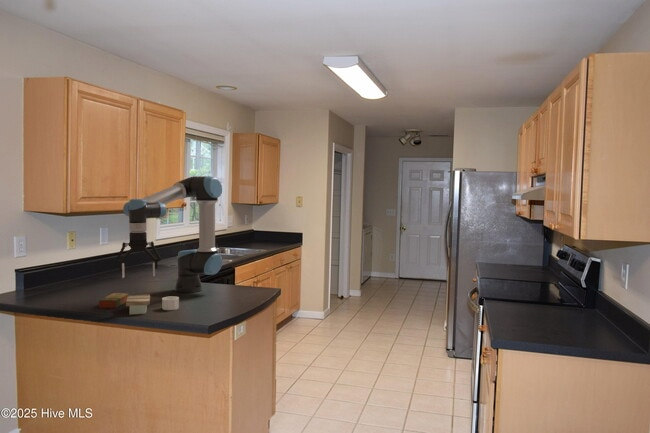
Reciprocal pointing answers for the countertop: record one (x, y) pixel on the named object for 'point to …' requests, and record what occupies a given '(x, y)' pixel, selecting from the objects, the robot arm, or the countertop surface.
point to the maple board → (138, 300)
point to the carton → (113, 300)
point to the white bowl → (170, 303)
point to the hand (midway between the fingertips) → (138, 276)
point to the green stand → (138, 309)
